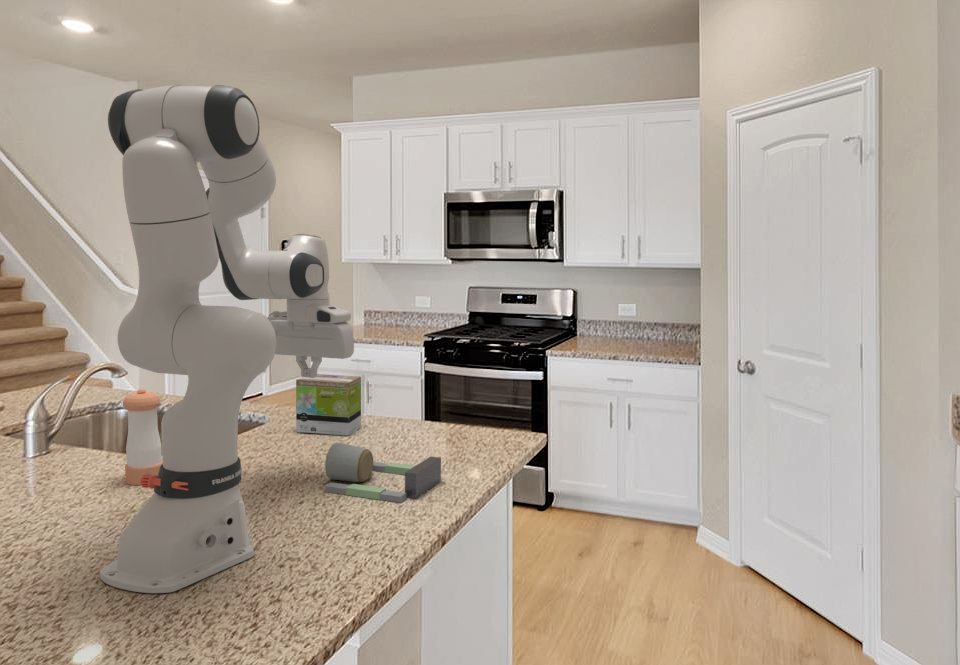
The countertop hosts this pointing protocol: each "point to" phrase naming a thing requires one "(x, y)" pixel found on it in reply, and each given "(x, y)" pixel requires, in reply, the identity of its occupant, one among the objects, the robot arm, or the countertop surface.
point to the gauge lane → (373, 491)
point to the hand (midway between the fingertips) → (309, 377)
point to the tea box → (328, 404)
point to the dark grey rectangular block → (422, 477)
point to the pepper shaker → (142, 436)
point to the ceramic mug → (348, 463)
